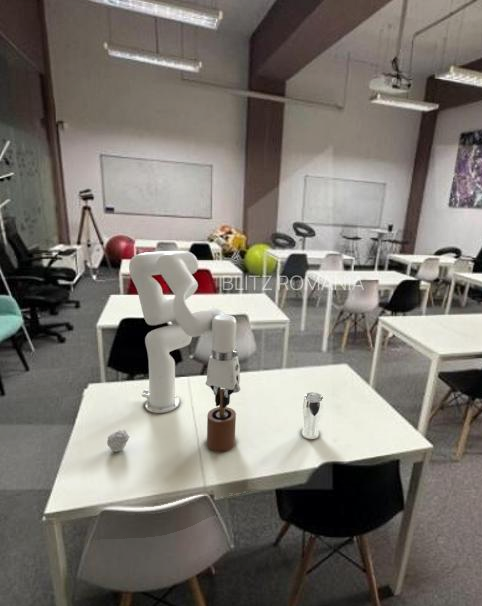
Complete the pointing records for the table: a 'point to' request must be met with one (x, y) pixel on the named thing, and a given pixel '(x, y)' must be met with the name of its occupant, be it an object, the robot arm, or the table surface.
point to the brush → (221, 408)
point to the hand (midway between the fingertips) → (222, 404)
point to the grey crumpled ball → (118, 440)
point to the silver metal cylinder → (312, 414)
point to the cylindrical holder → (221, 430)
